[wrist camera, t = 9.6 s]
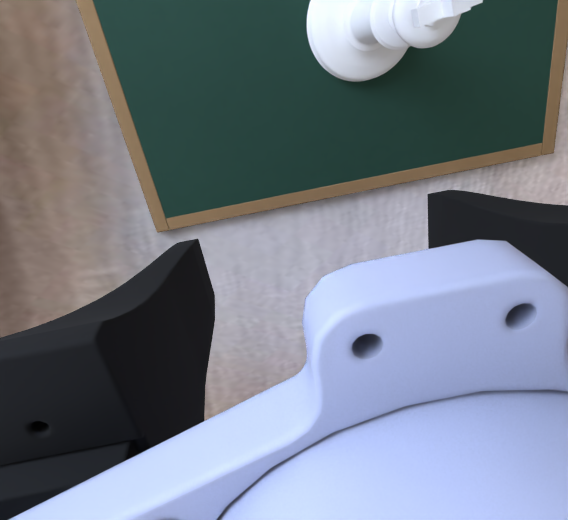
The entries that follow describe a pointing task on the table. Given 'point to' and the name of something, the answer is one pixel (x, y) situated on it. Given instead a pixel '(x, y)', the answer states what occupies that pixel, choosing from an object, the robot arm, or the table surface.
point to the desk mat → (315, 102)
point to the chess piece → (377, 32)
